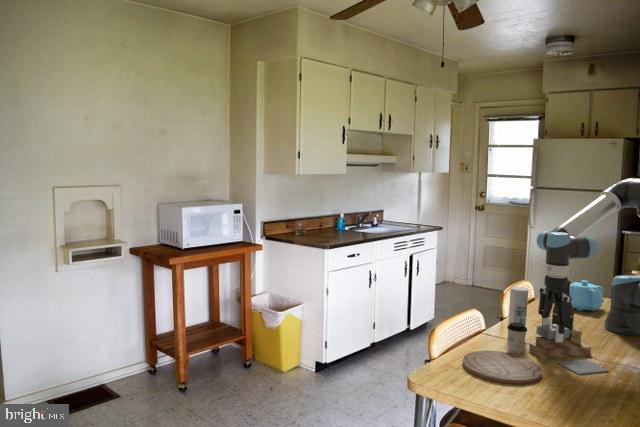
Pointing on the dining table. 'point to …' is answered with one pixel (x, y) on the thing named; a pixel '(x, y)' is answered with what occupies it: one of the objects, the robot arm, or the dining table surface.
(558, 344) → the plane body
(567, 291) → the beer bottle
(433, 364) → the dining table surface
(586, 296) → the decorative pot
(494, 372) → the trivet
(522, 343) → the coffee cup
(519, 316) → the spray can
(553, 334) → the lever cap
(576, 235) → the robot arm
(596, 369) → the mat
